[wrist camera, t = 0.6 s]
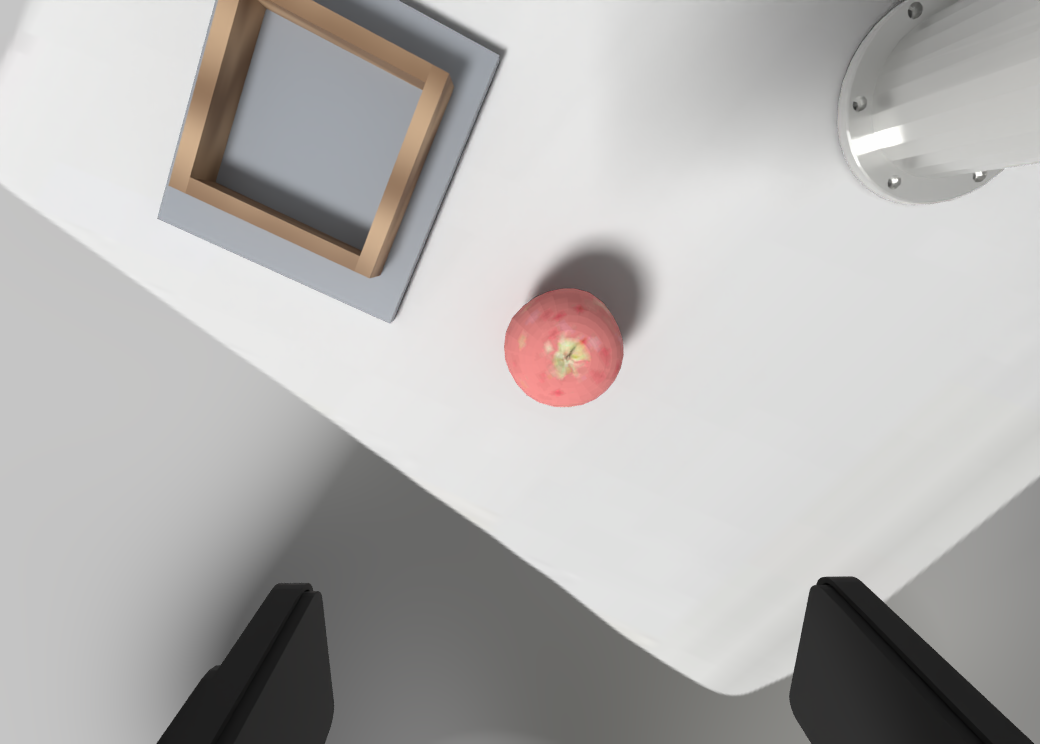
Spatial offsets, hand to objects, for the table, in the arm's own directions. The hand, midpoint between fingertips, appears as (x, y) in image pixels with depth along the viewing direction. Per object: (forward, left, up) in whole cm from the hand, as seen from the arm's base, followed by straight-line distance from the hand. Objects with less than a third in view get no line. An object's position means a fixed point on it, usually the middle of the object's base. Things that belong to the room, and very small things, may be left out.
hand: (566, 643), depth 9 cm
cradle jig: (-7, -17, -26) cm, 32 cm away
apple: (-2, +2, -27) cm, 27 cm away
